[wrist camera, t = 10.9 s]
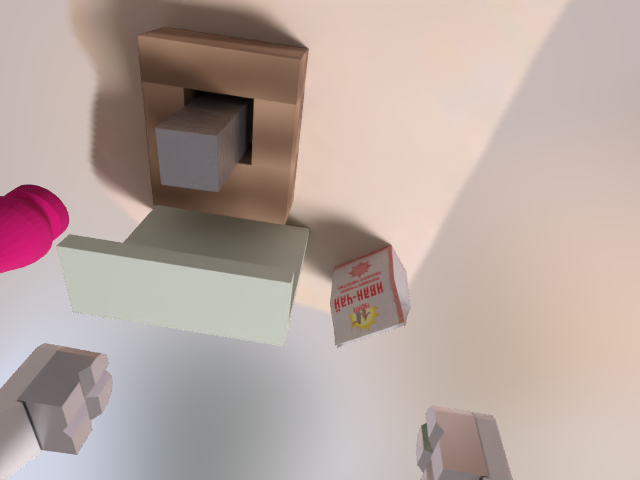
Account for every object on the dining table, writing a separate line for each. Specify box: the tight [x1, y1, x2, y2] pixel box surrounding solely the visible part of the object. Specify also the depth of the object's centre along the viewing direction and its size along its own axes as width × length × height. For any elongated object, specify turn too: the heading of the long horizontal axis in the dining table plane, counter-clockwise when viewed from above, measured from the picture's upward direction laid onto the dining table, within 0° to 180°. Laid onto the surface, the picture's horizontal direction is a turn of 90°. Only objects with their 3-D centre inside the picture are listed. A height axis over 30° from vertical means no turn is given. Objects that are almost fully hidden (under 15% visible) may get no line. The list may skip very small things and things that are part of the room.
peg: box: [155, 91, 254, 192], centre depth 34 cm, size 4×4×12 cm
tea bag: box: [330, 245, 410, 348], centre depth 43 cm, size 4×7×10 cm, turn 120°
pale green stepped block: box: [56, 205, 310, 346], centre depth 37 cm, size 6×16×16 cm, turn 83°
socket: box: [137, 27, 309, 225], centre depth 37 cm, size 14×12×5 cm
